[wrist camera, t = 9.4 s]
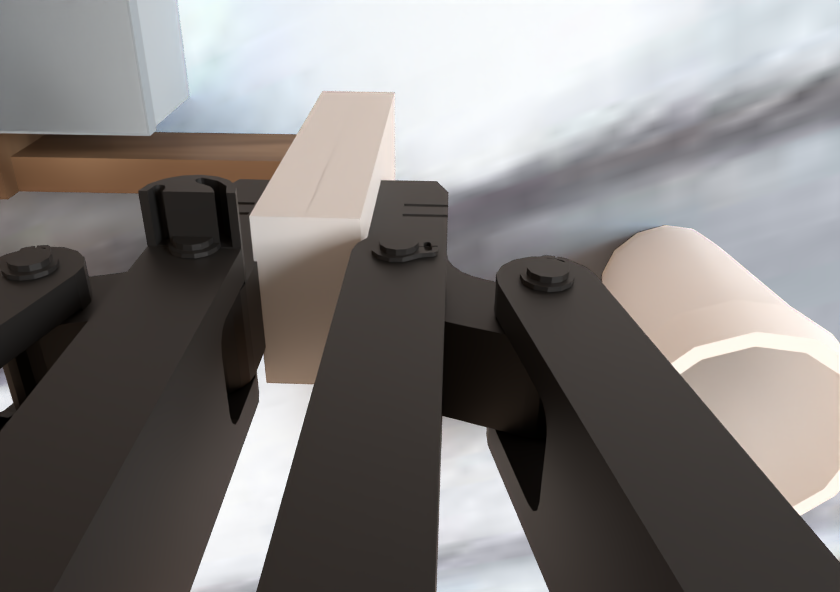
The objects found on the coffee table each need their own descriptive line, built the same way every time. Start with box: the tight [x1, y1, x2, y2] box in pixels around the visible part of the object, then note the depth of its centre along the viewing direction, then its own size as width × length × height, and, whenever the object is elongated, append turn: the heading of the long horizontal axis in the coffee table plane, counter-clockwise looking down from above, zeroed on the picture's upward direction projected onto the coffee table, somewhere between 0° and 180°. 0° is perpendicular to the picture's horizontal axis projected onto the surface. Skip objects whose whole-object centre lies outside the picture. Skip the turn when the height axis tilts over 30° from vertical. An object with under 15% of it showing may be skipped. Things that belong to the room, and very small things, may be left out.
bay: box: [0, 132, 297, 199], centre depth 33 cm, size 14×18×5 cm
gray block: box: [0, 0, 190, 136], centre depth 33 cm, size 7×7×6 cm
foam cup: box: [602, 225, 840, 515], centre depth 35 cm, size 10×9×13 cm
